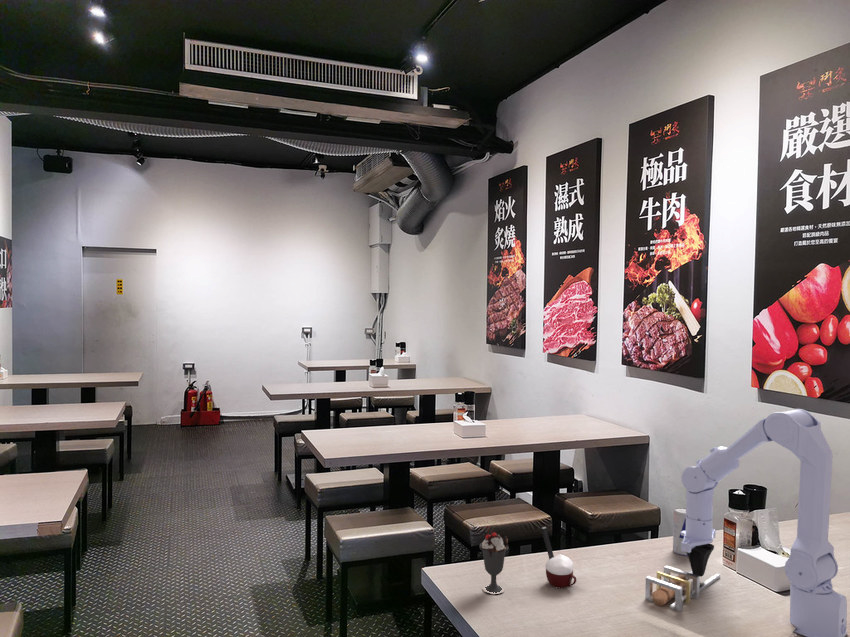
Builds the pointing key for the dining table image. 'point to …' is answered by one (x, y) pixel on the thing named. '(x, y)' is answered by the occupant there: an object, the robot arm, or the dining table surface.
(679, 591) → the white wire rack
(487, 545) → the sundae
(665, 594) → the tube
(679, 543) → the energy drink
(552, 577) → the cocoa
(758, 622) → the dining table surface
